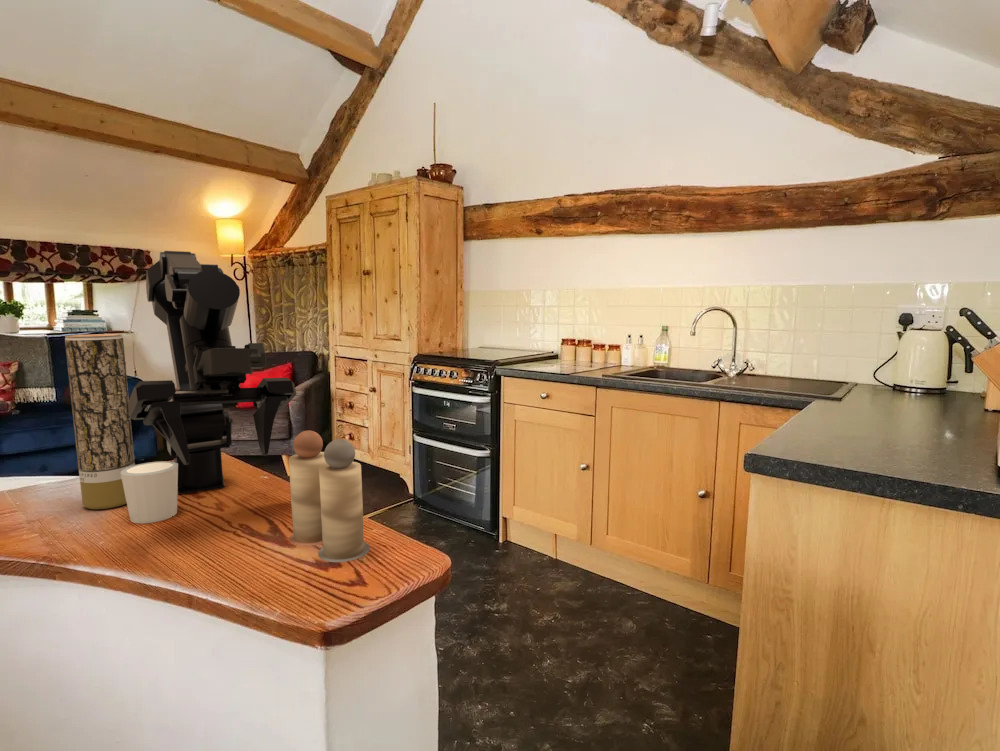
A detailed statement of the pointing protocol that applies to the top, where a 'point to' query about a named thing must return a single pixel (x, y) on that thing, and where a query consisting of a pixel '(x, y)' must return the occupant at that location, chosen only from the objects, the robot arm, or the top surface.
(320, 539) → the terracotta ball tube
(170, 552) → the top surface
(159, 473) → the white tapered cylinder
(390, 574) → the top surface
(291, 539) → the board
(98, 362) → the paper tube
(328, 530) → the grey ball tube
